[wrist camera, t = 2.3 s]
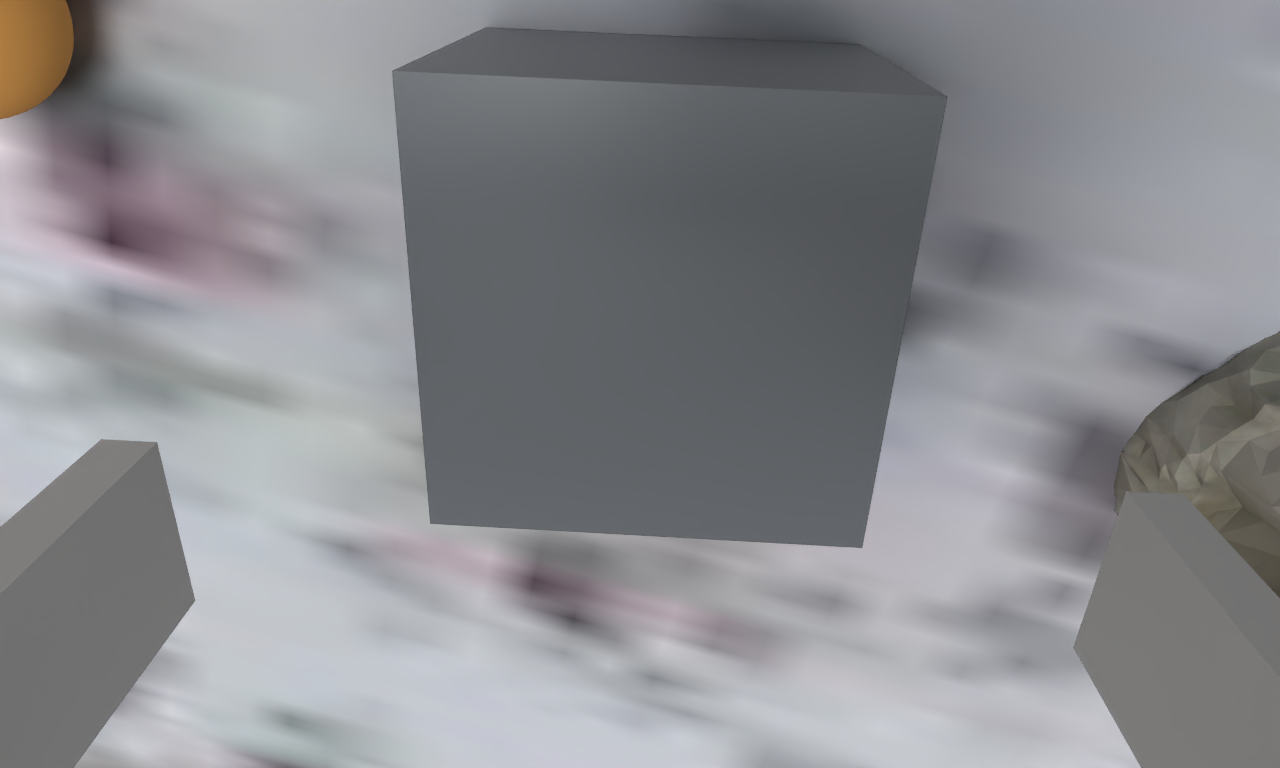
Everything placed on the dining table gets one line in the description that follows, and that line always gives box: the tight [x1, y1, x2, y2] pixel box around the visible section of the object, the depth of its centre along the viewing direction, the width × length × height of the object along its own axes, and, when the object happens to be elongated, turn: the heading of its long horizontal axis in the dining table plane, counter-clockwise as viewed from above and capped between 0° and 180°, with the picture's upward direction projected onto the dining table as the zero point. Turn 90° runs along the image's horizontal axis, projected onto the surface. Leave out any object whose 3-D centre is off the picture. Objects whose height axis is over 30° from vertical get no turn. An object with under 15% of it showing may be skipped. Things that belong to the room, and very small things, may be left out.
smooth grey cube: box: [392, 28, 947, 548], centre depth 22 cm, size 10×10×9 cm
